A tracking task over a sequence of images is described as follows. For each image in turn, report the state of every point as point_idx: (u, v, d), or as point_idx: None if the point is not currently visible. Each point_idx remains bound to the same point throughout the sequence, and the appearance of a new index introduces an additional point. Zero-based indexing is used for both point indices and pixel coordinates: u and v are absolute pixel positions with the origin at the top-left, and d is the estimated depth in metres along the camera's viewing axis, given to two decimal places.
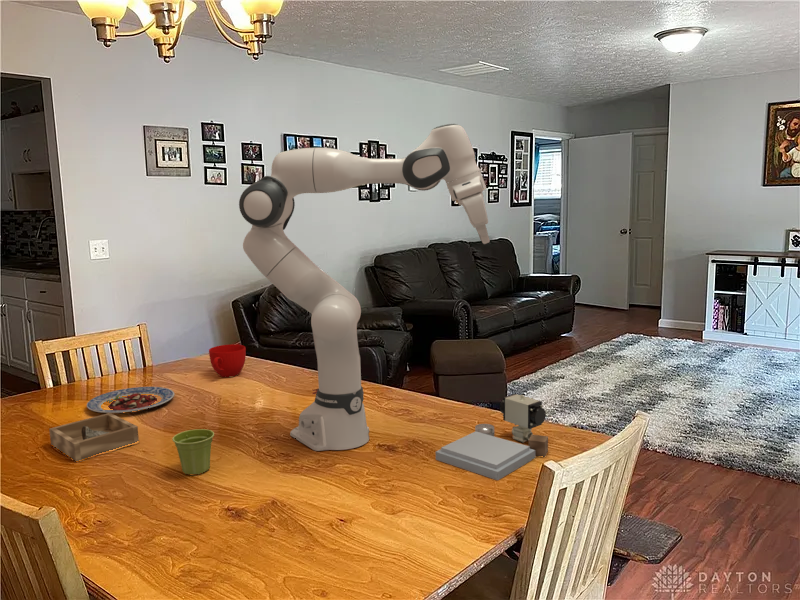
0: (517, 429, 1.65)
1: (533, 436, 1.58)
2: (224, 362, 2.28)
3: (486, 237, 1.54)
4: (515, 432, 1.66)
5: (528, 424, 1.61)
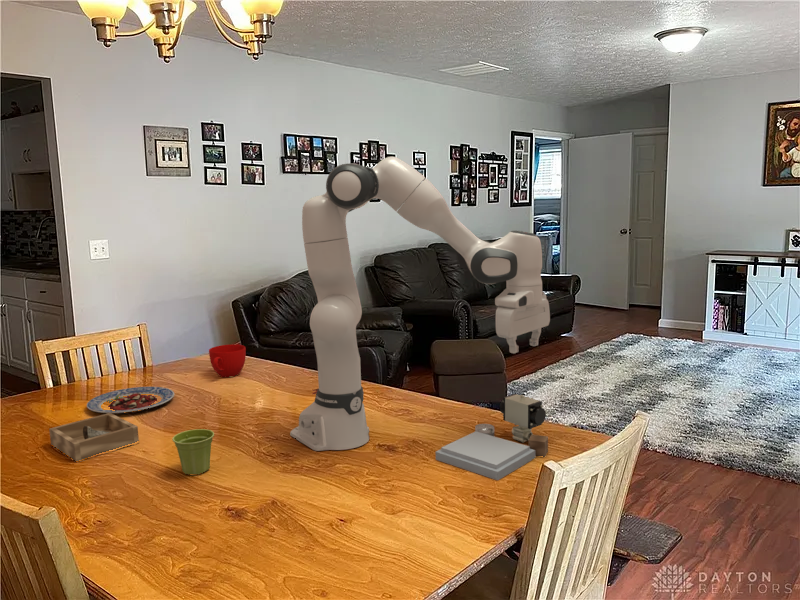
0: (517, 429, 1.65)
1: (533, 436, 1.58)
2: (224, 362, 2.28)
3: (513, 348, 1.59)
4: (515, 432, 1.66)
5: (528, 424, 1.61)
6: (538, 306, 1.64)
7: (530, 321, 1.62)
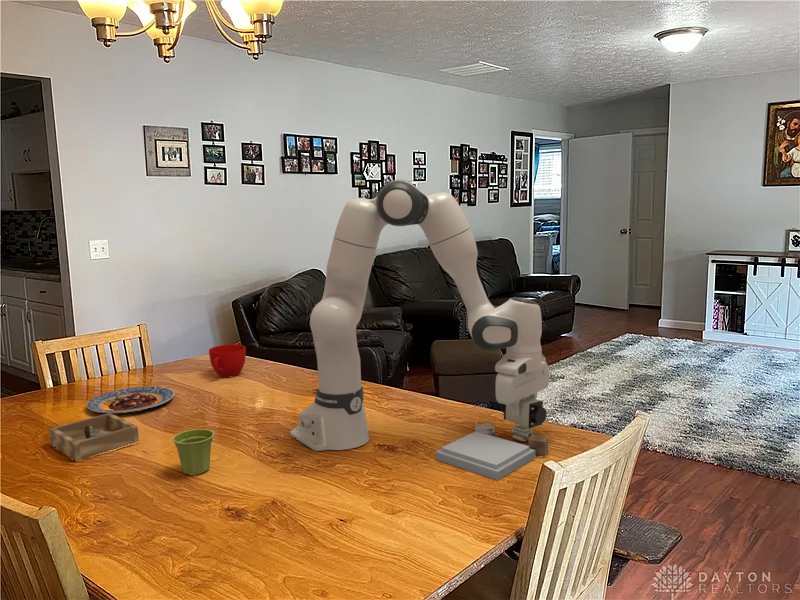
0: (517, 428, 1.66)
1: (533, 436, 1.58)
2: (224, 362, 2.28)
3: (516, 411, 1.63)
4: (515, 431, 1.66)
5: (529, 423, 1.61)
6: (537, 370, 1.66)
7: (530, 386, 1.64)
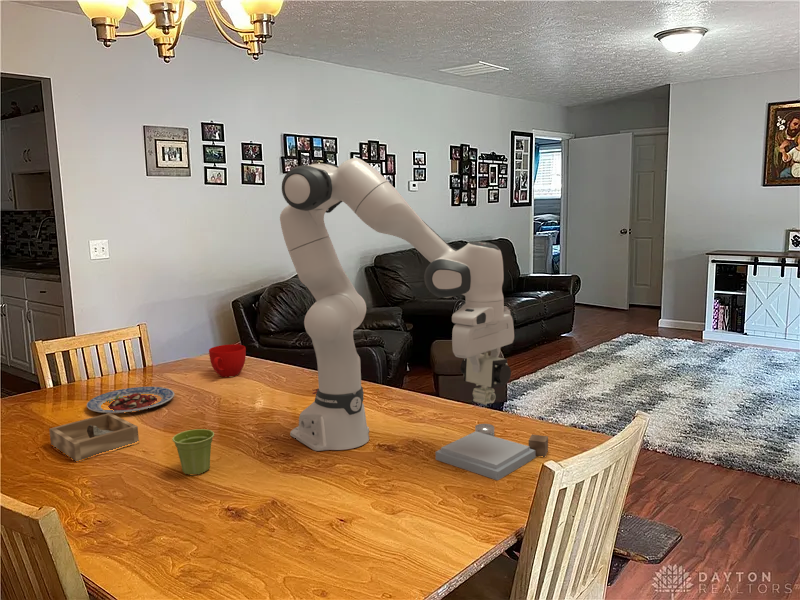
0: (479, 390, 1.50)
1: (533, 436, 1.58)
2: (224, 362, 2.28)
3: (476, 367, 1.49)
4: (476, 393, 1.51)
5: (492, 382, 1.47)
6: (500, 323, 1.52)
7: (491, 339, 1.50)
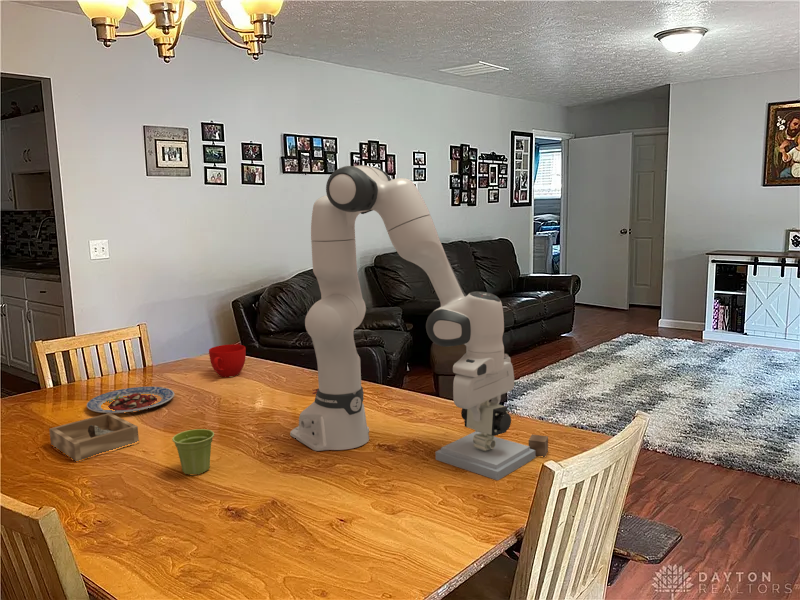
0: (479, 436, 1.52)
1: (533, 436, 1.58)
2: (224, 362, 2.28)
3: (477, 416, 1.50)
4: (477, 440, 1.53)
5: (492, 430, 1.48)
6: (500, 371, 1.53)
7: (492, 388, 1.51)
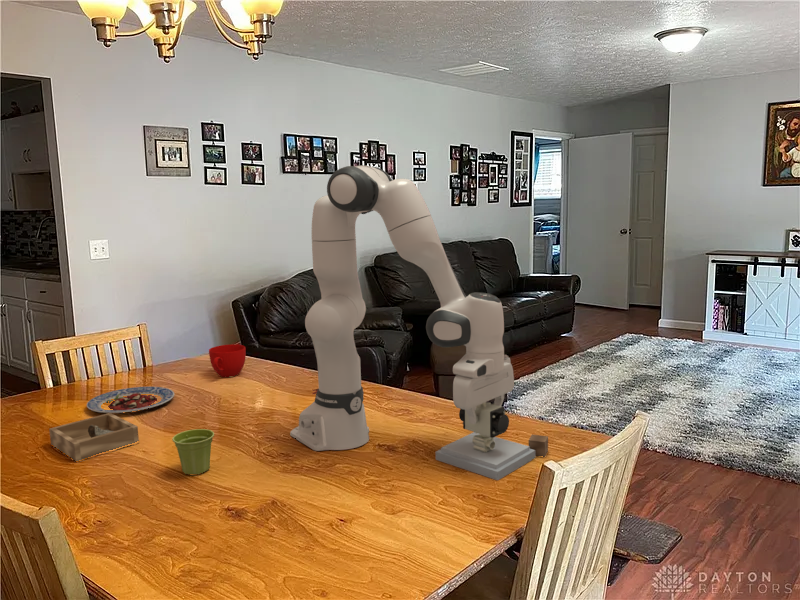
0: (478, 438, 1.52)
1: (533, 436, 1.58)
2: (224, 362, 2.28)
3: (472, 418, 1.49)
4: (476, 441, 1.53)
5: (490, 432, 1.48)
6: (500, 372, 1.54)
7: (492, 389, 1.51)
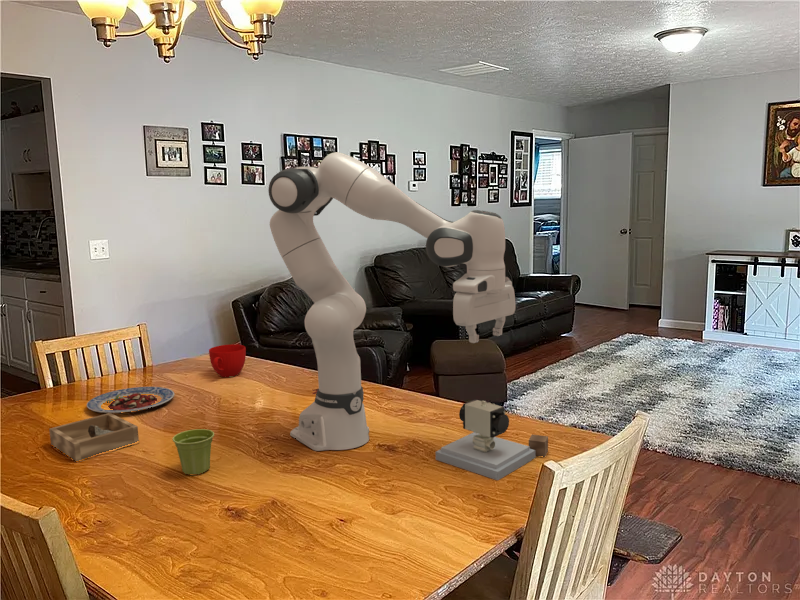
0: (478, 438, 1.52)
1: (533, 436, 1.58)
2: (224, 362, 2.28)
3: (473, 337, 1.47)
4: (476, 441, 1.53)
5: (490, 432, 1.48)
6: (501, 293, 1.51)
7: (492, 308, 1.49)
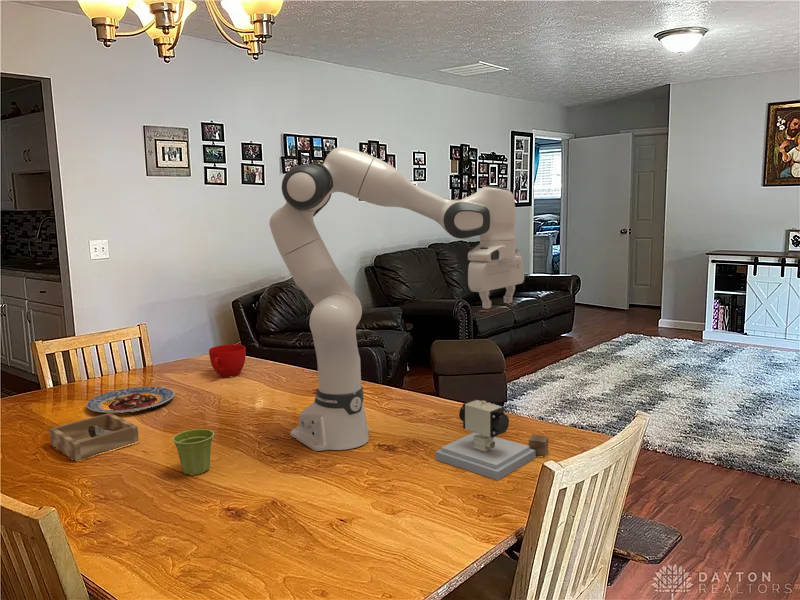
0: (478, 438, 1.52)
1: (533, 436, 1.58)
2: (224, 362, 2.28)
3: (486, 303, 1.59)
4: (476, 441, 1.53)
5: (490, 432, 1.48)
6: (512, 262, 1.64)
7: (504, 277, 1.62)
